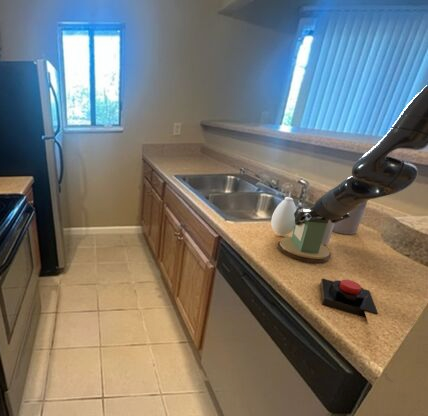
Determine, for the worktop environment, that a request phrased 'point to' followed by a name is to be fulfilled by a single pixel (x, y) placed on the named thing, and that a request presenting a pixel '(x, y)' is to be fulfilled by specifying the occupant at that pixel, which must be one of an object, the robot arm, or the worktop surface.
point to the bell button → (350, 286)
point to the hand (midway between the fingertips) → (306, 223)
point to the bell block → (346, 299)
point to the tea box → (307, 240)
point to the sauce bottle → (284, 217)
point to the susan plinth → (302, 259)
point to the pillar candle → (350, 221)
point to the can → (327, 233)
